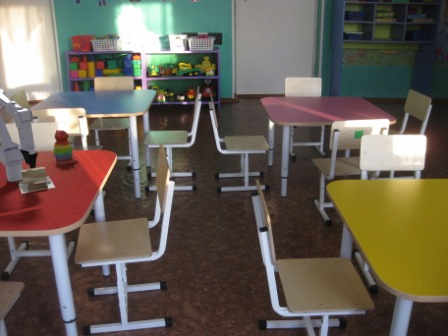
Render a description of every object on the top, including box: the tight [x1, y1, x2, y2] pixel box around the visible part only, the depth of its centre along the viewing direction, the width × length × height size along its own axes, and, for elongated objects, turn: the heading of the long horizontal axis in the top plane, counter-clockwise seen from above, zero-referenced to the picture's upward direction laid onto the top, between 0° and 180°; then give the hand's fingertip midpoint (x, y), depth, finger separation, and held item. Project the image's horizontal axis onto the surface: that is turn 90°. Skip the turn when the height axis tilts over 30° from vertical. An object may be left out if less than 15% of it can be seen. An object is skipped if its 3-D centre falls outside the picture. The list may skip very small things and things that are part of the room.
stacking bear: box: [53, 129, 78, 166], centre depth 244 cm, size 11×10×18 cm
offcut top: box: [28, 180, 46, 188], centre depth 204 cm, size 3×7×2 cm, turn 119°
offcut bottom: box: [28, 183, 48, 193], centre depth 205 cm, size 3×8×2 cm, turn 119°
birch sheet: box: [21, 166, 48, 184], centre depth 211 cm, size 3×10×7 cm, turn 119°
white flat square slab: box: [18, 176, 56, 195], centre depth 209 cm, size 14×14×3 cm
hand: (31, 166), depth 207 cm, fingers open, 7 cm apart
